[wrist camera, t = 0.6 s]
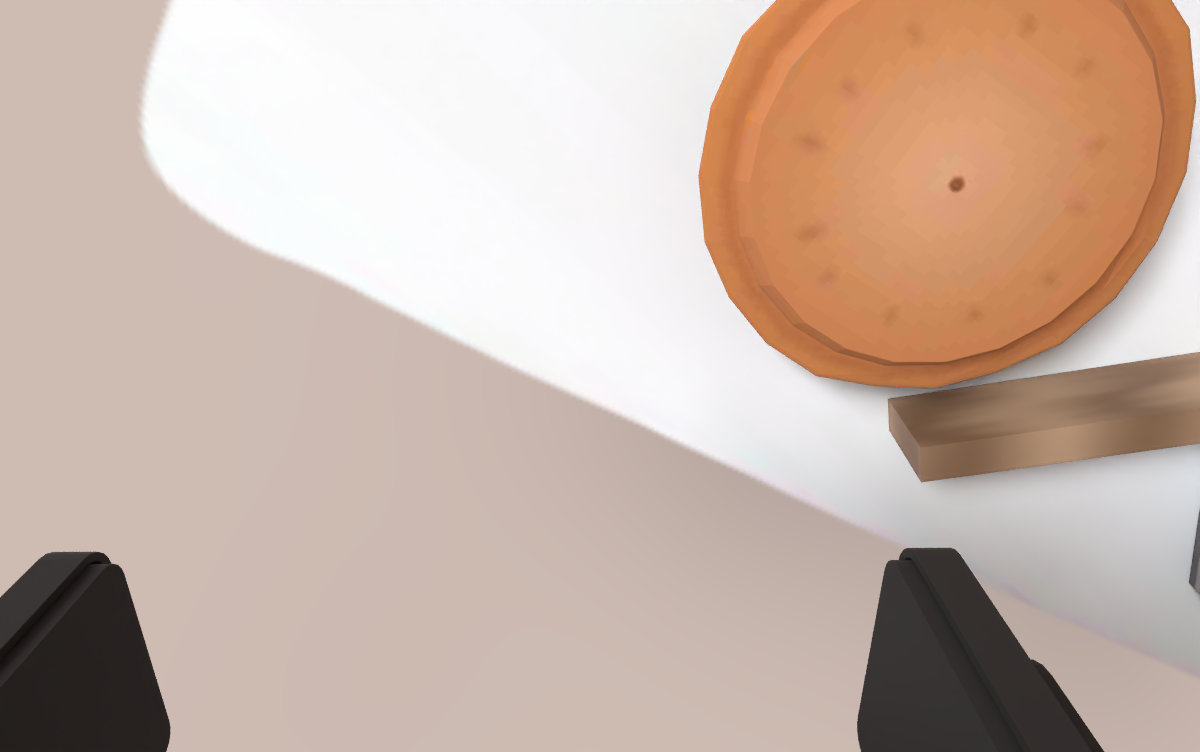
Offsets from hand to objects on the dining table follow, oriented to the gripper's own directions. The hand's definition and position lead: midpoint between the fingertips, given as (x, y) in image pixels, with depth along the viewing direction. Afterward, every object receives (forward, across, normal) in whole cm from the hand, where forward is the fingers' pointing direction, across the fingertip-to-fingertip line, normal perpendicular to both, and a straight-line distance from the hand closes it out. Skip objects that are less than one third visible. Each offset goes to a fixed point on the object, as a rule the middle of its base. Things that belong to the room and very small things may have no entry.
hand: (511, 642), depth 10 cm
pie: (+22, -12, -2) cm, 25 cm away
